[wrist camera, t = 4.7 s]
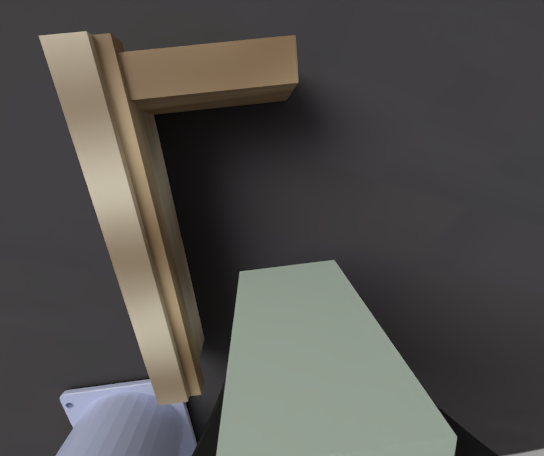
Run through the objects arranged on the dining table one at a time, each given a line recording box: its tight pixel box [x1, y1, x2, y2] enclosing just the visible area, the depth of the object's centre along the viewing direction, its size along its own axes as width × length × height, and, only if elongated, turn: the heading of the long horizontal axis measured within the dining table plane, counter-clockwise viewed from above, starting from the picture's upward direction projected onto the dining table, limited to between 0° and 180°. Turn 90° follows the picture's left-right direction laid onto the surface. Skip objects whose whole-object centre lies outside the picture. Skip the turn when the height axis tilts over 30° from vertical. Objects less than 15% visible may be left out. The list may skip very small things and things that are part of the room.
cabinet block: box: [216, 260, 457, 456], centre depth 9 cm, size 7×4×7 cm, turn 6°
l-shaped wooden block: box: [39, 31, 299, 406], centre depth 13 cm, size 16×8×4 cm, turn 6°
